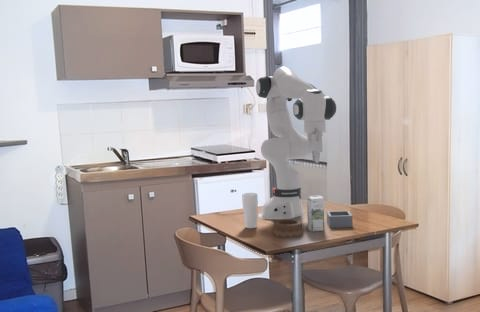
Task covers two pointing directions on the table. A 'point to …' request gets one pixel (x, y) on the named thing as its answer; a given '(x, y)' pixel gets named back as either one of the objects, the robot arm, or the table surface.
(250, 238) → the table surface
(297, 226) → the walnut round socket
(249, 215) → the drinking glass
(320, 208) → the syrup box
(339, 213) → the slate square socket
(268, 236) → the table surface
